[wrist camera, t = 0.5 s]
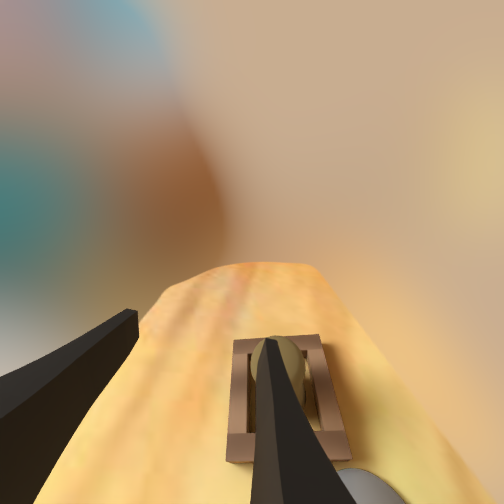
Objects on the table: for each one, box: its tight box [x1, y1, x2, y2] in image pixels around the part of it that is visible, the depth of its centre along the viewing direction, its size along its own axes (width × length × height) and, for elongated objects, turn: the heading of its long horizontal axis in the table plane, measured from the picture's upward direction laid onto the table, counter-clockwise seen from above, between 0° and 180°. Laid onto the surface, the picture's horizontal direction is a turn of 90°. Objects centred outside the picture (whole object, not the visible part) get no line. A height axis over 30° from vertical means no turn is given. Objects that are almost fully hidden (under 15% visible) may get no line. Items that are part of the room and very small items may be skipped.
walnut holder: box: [226, 334, 353, 463], centre depth 24 cm, size 12×12×2 cm
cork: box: [250, 336, 306, 410], centre depth 22 cm, size 6×6×11 cm
